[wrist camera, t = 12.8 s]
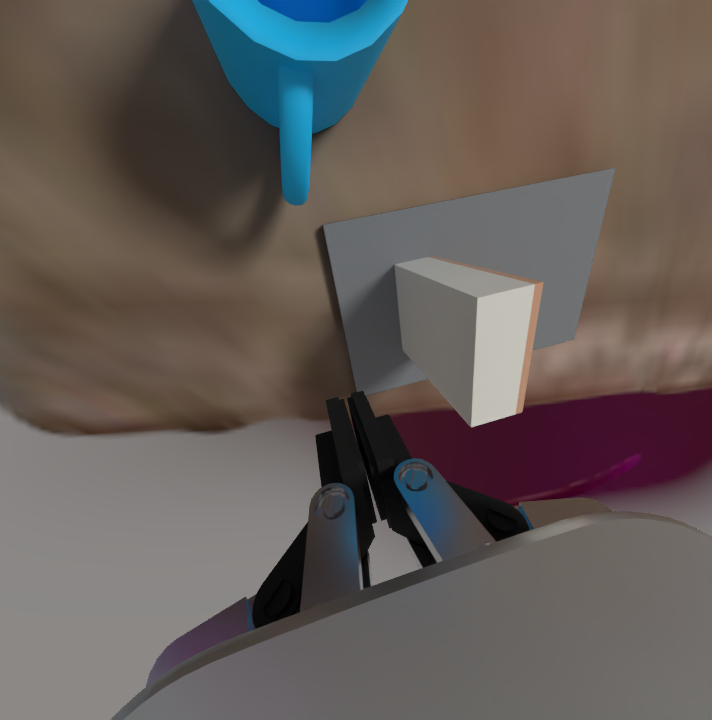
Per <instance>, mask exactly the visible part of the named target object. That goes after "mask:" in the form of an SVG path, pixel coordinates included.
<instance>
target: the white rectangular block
mask: <svg viewBox="0 0 712 720" xmlns="http://www.w3.org/2000/svg"><path fill="white" fill-rule="evenodd" d="M394 266H395V277H396V287H397V298H398V309H399V319H400V330H401V340H402V350H403V351H404V352H405V353H406V354H407V355H408V357H409V358H410V359H411V360H412V361H413V362H414V363H415V365H416V366H417V367H418V368H419V369H420V370H421V371H422V372H423V374H424V375H425V376H426V377H427V378H428V379H429V380H430V382H431V383H432V384H433V385H434V386H435V387H436V388H437V389H438V391H439V392H440V393H441V394H442V395H443V396H444V397H445V398H446V400H447V401H448V402H449V403H450V404H451V405H452V406H453V408H454V409H455V410H456V411H457V412H458V413H459V414H460V415H461V417H462V418H463V419H464V420H465V421H466V422H467V423H468V424H469V426H470V427H474V426H477V425H481V424H484V423H488V422H491V421H494V420H498V419H501V418H504V417H508V416H511V415H514V414H518V413H521V412H522V410H523V404H524V398H525V392H526V386H527V380H528V374H529V368H530V362H531V356H532V350H533V344H534V338H535V332H536V325H537V319H538V313H539V307H540V301H541V295H542V289H543V283H544V282H542V281H537V280H533V279H529V278H524V277H520V276H516V275H512V274H507V273H503V272H499V271H495V270H490V269H486V268H482V267H477V266H473V265H469V264H465V263H460V262H456V261H452V260H448V259H443V258H439V257H435V256H431V257H426V258H422V259H417V260H413V261H408V262H403V263H399V264H394Z"/></svg>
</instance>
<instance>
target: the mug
mask: <svg viewBox="0 0 712 720" xmlns="http://www.w3.org/2000/svg"><path fill="white" fill-rule="evenodd" d="M192 1H193V3H194V6H195V8H196V10H197V12H198V15H199V17H200V19H201V21H202V24H203V26H204V28H205V30H206V33H207V35H208V37H209V40H210V42H211V44H212V46H213V49H214V51H215V53H216V55H217V57H218V60H219V62H220V64H221V66H222V68H223V70H224V73H225V75H226V77H227V79H228V81H229V83H230V84H231V85H232V87H233V88H234V89H235V91H236V92H237V93H238V95H239V96H240V97H241V99H242V100H243V101H244V102H245V104H246V105H247V106H248V108H250V109H251V110H252V111H253V112H255V113H256V114H257V115H259V116H260V117H261V118H262V119H264V120H265V121H266V122H268V123H269V124H270V125H272V126H275V127H277V128H279V129H280V155H281V177H282V192H283V197H284V199H285V200H286V201H287V202H288V203H290V204H291V205H302V204H304V203H305V202H306V200H307V197H308V191H309V180H310V165H311V145H312V133H317V132H319V131H321V130H323V129H326V128H328V127H330V126H332V125H334V124H336V123H337V122H338V121H339V120H340V119H341V118H342V117H343V116H344V115H345V114H346V113H347V112H348V111H349V110H350V108H351V107H352V106H353V104H354V102H355V100H356V98H357V96H358V95H359V93H360V91H361V89H362V87H363V85H364V83H365V81H366V80H367V78H368V76H369V74H370V72H371V70H372V68H373V66H374V65H375V63H376V61H377V59H378V57H379V55H380V53H381V51H382V50H383V48H384V46H385V44H386V42H387V40H388V38H389V36H390V35H391V33H392V31H393V29H394V27H395V25H396V23H397V21H398V19H399V18H400V16H401V14H402V12H403V10H404V8H405V6H406V4H407V2H408V0H192Z"/></svg>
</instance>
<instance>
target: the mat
mask: <svg viewBox="0 0 712 720" xmlns="http://www.w3.org/2000/svg"><path fill="white" fill-rule="evenodd" d="M614 172H615V168H613V169H607V170H602V171H596V172H591V173H586V174H581V175H576V176H571V177H566V178H561V179H555V180H550V181H545V182H540V183H535V184H530V185H525V186H520V187H514V188H509V189H504V190H499V191H494V192H489V193H484V194H479V195H474V196H468V197H463V198H458V199H453V200H448V201H443V202H438V203H433V204H427V205H422V206H417V207H412V208H407V209H402V210H397V211H392V212H386V213H381V214H376V215H371V216H366V217H361V218H356V219H351V220H345V221H340V222H335V223H330V224H325V225H322V226H323V231H324V236H325V241H326V246H327V250H328V255H329V260H330V265H331V270H332V275H333V280H334V285H335V290H336V295H337V299H338V304H339V309H340V314H341V319H342V324H343V329H344V334H345V339H346V343H347V348H348V353H349V358H350V363H351V368H352V373H353V378H354V383H355V388H356V392H359V391H364V394H365V396H366V395H370V394H374V393H377V392H381V391H385V390H388V389H392V388H396V387H399V386H403V385H407V384H410V383H414V382H418V381H422V380H425V379H428V378H427V377H426V376H425V375H424V374H423V372H422V371H421V370H420V369H419V368H418V367H417V366H416V365H415V363H414V362H413V361H412V360H411V359H410V358H409V357H408V355H407V354H406V353H405V352H404V351H403V350H402V340H401V330H400V319H399V309H398V298H397V287H396V277H395V266H394V264H399V263H403V262H408V261H413V260H417V259H422V258H426V257H431V256H435V257H439V258H443V259H448V260H452V261H456V262H460V263H465V264H469V265H473V266H477V267H482V268H486V269H490V270H495V271H499V272H503V273H507V274H512V275H516V276H520V277H524V278H529V279H533V280H537V281H542V282H544V283H543V289H542V295H541V301H540V307H539V313H538V319H537V325H536V332H535V338H534V344H533V350H536V349H540V348H543V347H547V346H551V345H555V344H558V343H562V342H566V341H569V340H573V339H574V337H575V333H576V328H577V324H578V320H579V316H580V312H581V308H582V304H583V300H584V295H585V291H586V287H587V283H588V279H589V275H590V271H591V267H592V262H593V258H594V254H595V250H596V246H597V242H598V238H599V234H600V229H601V225H602V221H603V217H604V213H605V209H606V205H607V201H608V196H609V192H610V188H611V184H612V180H613V176H614Z"/></svg>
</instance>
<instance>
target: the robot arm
mask: <svg viewBox="0 0 712 720" xmlns="http://www.w3.org/2000/svg"><path fill="white" fill-rule="evenodd" d="M347 400H348V404H349V409H350V413H351V418H352V422H353V426H354V431H355V435H356V438H355V435H354V431H353V428H352V425H351V422H350V419H349V415H348V412H347V409H346V406H345V403H344V399H342V400H338V397H337V398H333V399H329V400H326V404H327V409H328V414H329V418H330V423H331V428H332V431H328V432H325V433H321V434H318V435H316V445H317V453H318V462H319V470H320V478H321V486H322V488H320V489H319V490H318V491H317V492H316V493H315V494H314V496H313V498H312V499H311V503H310V508H309V518H308V519H309V520H308V522H307V524H306V525H305V527H304V528H303V529H302V531H301V532H300V533H299V535H298V536H297V537H296V539H295V540H294V541H293V543H292V544H291V546H290V547H289V548H288V550H287V551H286V552H285V554H284V555H283V556H282V558H281V559H280V561H279V562H278V563H277V565H276V566H275V567H274V569H273V570H272V572H271V573H270V574H269V576H268V577H267V578H266V580H265V581H264V582H263V584H262V585H261V587H260V589H259V590H258V592H257V594H256V595H254V596H253V597H251V598H249V599H247V598H246V597H244V598H243V599H241V600H239V601H238V602H236V603H234V604H233V605H231V606H229V607H228V608H226V609H225V610H223V611H221V612H220V613H218V614H216V615H215V616H213V617H212V618H210V619H208V620H207V621H205V622H204V623H202V624H200V625H199V626H197V627H195V628H194V629H192V630H190V631H189V632H187V633H186V634H184V635H182V636H181V637H179V638H178V639H176V640H175V641H174V642H172V643H171V644H170V645H169V646H167V648H166V649H165V650H164V651H163V652H162V654H161V655H160V656H159V657H158V659H157V660H156V662H155V664H154V666H153V668H152V670H151V672H150V674H149V677H148V681H147V684H146V688H144V689H143V690H142V691H141V692H140V693H139V694H137V695H136V696H135V697H134V698H133V699H132V700H130V701H129V702H128V703H127V704H126V705H125V706H124V707H123V708H122V709H121V710H120V711H119V712H118V713H117V714H116V715H115V716H114V717H113V718H112V719H111V720H712V536H710V535H708V534H706V533H704V532H702V531H700V530H699V529H697V528H695V527H693V526H691V525H688V524H686V523H684V522H681V521H678V520H675V519H672V518H669V517H665V516H660V515H655V514H649V513H641V512H631V511H611V510H610V509H609V508H608V507H606V506H605V505H603V504H601V503H600V502H597V501H595V500H592V499H589V498H568V499H555V500H543V501H531V502H520V503H519V506H512V505H510V504H508V503H506V502H503V501H501V500H498V499H495V498H492V497H489V496H487V495H484V494H481V493H479V492H476V491H473V490H470V489H467V488H465V487H461V486H459V485H456V484H454V483H451V482H448V481H445V480H444V478H443V477H442V476H441V475H440V474H439V472H438V471H437V470H436V469H435V468H434V467H433V466H432V465H431V464H430V463H428V462H426V461H424V460H421V459H412V457H411V455H410V454H409V452H408V450H407V448H406V446H405V444H404V442H403V441H402V439H401V437H400V435H399V433H398V431H397V429H396V427H395V426H394V424H393V422H392V420H391V418H390V416H389V415H384V416H381V417H377V418H375V416H374V413H373V411H372V409H371V407H370V405H369V402H368V400H367V398H366V396H365V394H364V391H359V392H355V393H352V394H351V397H349V398H347ZM356 439H357V441H356ZM365 470H366V471H365ZM366 473H367V476H368V480H369V483H370V486H371V489H372V493H373V495H374V499H375V502H376V505H377V509H378V512H379V515H380V518H381V521H382V520H385V519H387V522H388V525H389V528H392V530H393V531H395V532H396V533H398V534H400V535H402V536H403V538H404V540H405V543H406V545H407V546H408V548H409V550H410V552H411V554H412V556H413V558H414V560H415V562H416V563H417V565H418V567H419V570H416V571H414V572H410V573H408V574H405V575H402V576H399V577H396V578H394V579H391V580H388V581H385V582H382V583H380V584H377V585H374V586H372V577H371V567H370V557H369V552H368V549H369V547H370V545H371V543H372V541H373V539H374V537H375V534H374V530H373V526H372V524H373V523H376V522H377V520H376V516H375V511H374V507H373V503H372V498H371V493H370V489H369V485H368V480H367V476H366Z"/></svg>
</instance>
